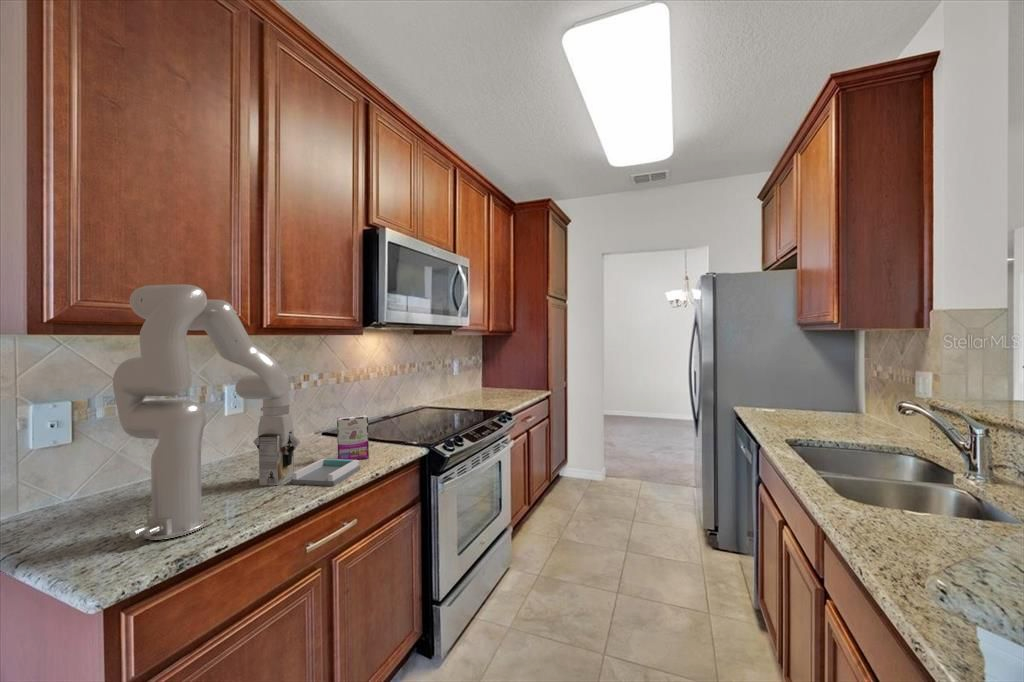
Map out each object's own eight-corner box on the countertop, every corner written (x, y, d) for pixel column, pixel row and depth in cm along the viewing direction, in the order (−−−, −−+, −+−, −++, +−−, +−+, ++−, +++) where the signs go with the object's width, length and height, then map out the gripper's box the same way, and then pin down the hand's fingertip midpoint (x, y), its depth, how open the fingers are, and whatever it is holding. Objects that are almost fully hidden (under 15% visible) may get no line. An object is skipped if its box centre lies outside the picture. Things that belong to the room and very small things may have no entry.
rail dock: (334, 486, 128) (333, 475, 128) (290, 483, 131) (290, 473, 131) (360, 469, 144) (360, 459, 144) (321, 468, 146) (321, 458, 146)
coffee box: (275, 476, 138) (275, 428, 138) (294, 476, 138) (294, 428, 138) (258, 485, 129) (257, 435, 129) (278, 485, 129) (277, 435, 129)
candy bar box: (367, 455, 162) (367, 414, 162) (369, 458, 158) (368, 416, 158) (337, 459, 157) (336, 416, 157) (337, 462, 153) (337, 419, 153)
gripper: (243, 412, 131) (244, 467, 131) (292, 413, 128) (293, 470, 129) (261, 408, 138) (261, 461, 139) (307, 409, 136) (308, 462, 136)
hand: (276, 464), depth 134 cm, fingers closed on coffee box, 6 cm apart
